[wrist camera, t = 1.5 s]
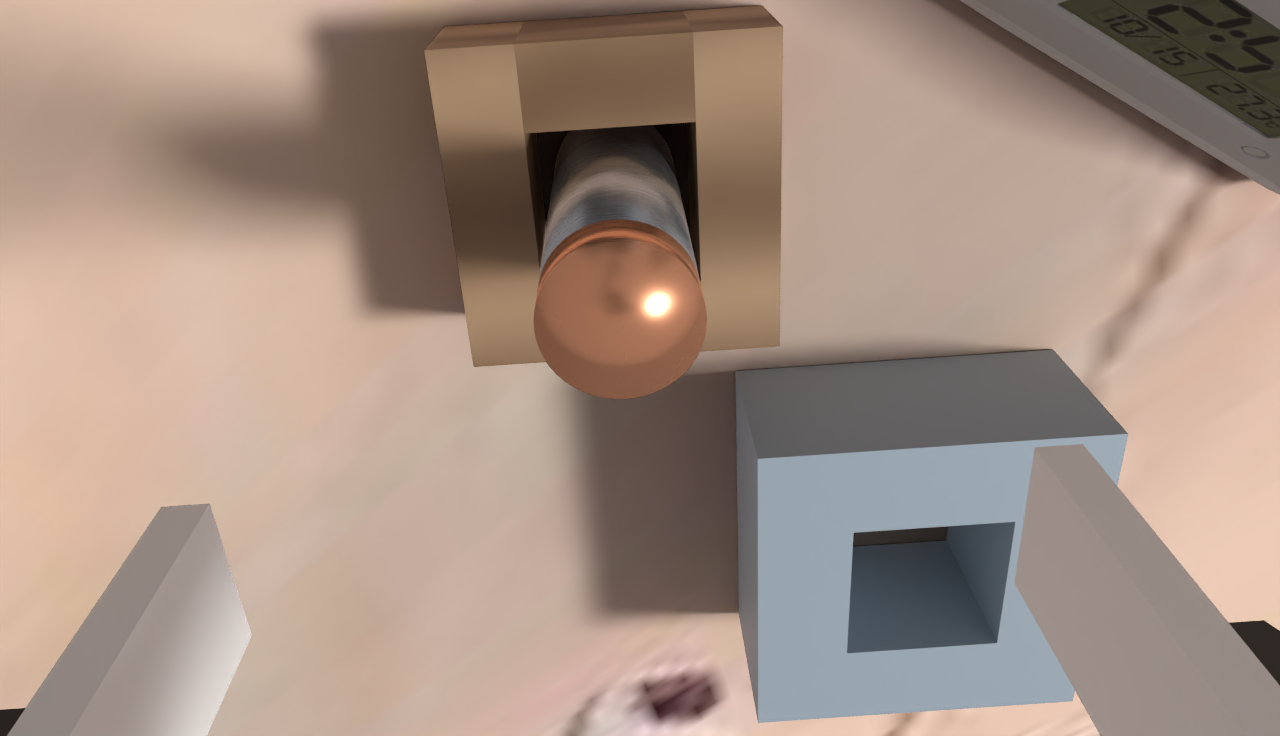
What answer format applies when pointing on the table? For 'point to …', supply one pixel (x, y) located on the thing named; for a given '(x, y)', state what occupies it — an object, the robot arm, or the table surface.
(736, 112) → the mount
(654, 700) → the table surface
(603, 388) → the lock pin
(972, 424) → the socket
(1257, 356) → the table surface
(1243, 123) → the digital clock
